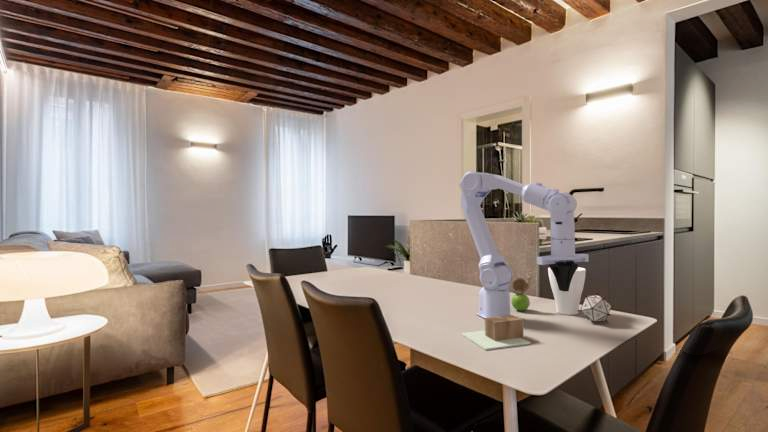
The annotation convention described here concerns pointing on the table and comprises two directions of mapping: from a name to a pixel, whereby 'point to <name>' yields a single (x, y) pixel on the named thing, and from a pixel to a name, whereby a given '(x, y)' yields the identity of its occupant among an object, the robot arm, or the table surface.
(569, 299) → the cup
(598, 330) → the table surface
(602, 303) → the game die
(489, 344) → the mat
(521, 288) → the snail figurine
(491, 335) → the wooden block
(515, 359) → the table surface
